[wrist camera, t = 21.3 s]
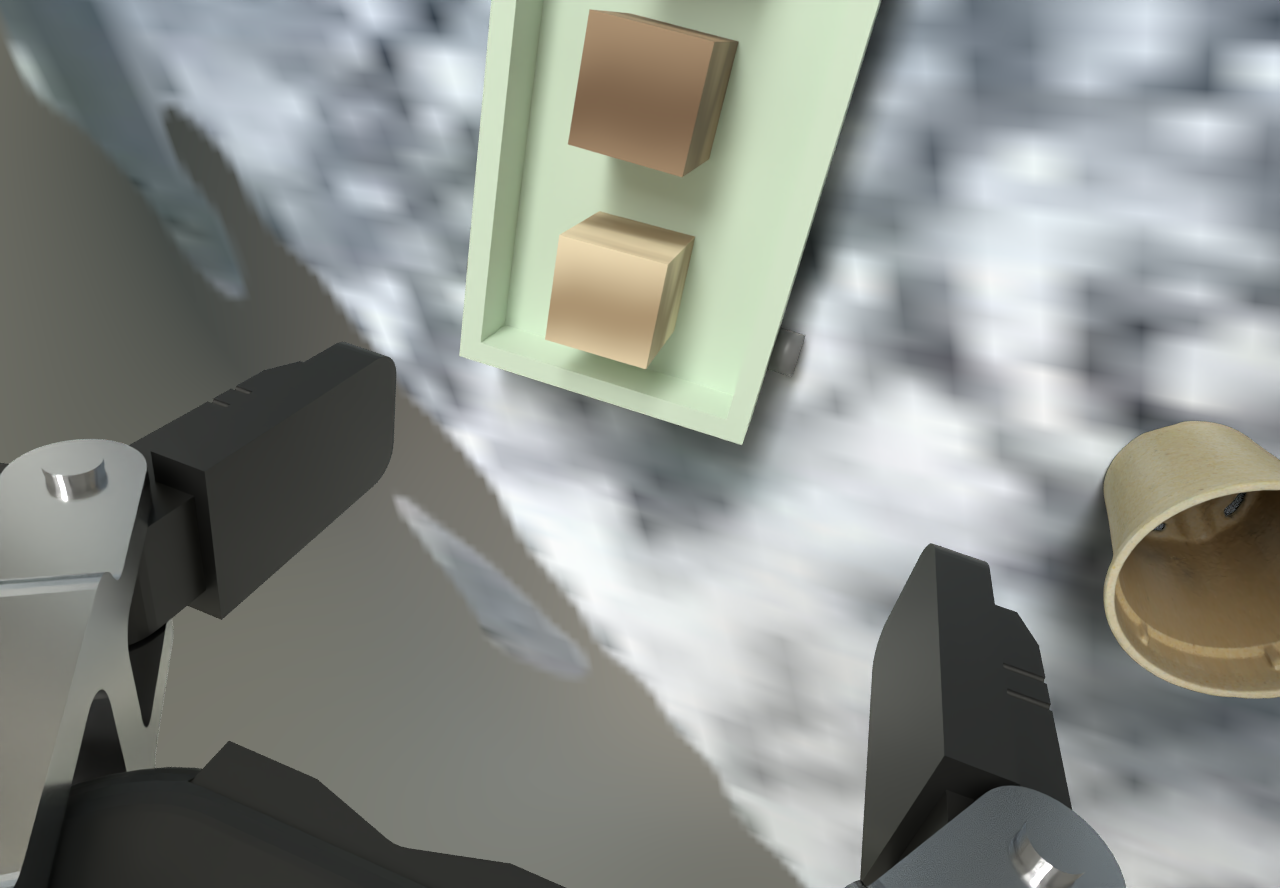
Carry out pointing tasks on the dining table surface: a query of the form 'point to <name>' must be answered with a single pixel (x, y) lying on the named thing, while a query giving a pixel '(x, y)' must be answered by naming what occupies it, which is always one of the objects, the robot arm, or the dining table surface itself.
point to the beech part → (618, 287)
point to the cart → (660, 199)
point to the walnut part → (650, 91)
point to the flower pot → (1197, 559)
